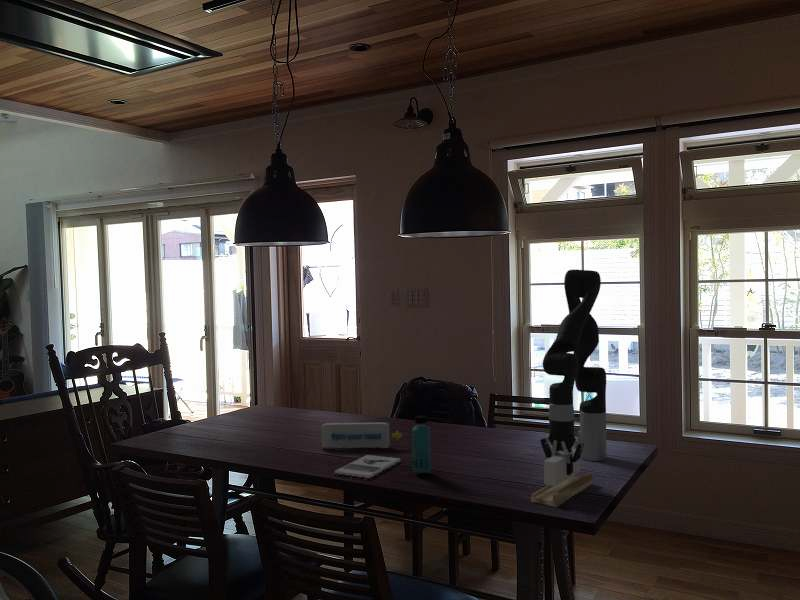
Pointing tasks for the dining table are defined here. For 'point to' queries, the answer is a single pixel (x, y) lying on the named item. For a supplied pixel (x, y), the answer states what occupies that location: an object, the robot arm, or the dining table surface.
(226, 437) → the dining table surface
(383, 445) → the decorative sign
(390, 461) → the book
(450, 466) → the dining table surface
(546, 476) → the white rectangular block
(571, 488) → the wooden grooved tray
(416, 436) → the beverage bottle
